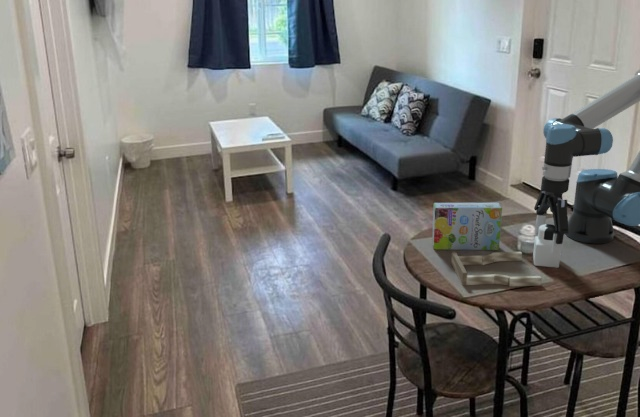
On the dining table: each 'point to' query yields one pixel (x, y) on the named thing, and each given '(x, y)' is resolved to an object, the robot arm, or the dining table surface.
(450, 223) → the snack box
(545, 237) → the medicine bottle
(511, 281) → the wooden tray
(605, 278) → the dining table surface
